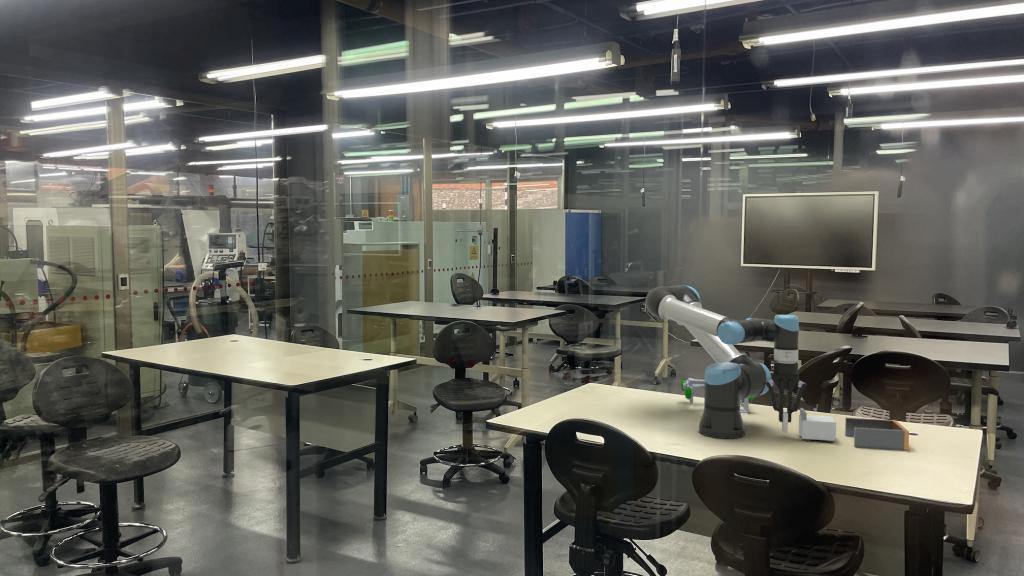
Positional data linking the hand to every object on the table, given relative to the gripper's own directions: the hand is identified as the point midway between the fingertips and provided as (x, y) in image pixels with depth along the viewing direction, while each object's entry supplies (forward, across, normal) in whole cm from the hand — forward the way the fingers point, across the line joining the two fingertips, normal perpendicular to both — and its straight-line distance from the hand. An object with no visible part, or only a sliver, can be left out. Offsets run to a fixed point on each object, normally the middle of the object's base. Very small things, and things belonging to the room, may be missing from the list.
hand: (784, 431), depth 227 cm
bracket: (+2, -21, +38) cm, 44 cm away
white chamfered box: (+2, +10, 0) cm, 10 cm away
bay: (+2, +27, 0) cm, 27 cm away
